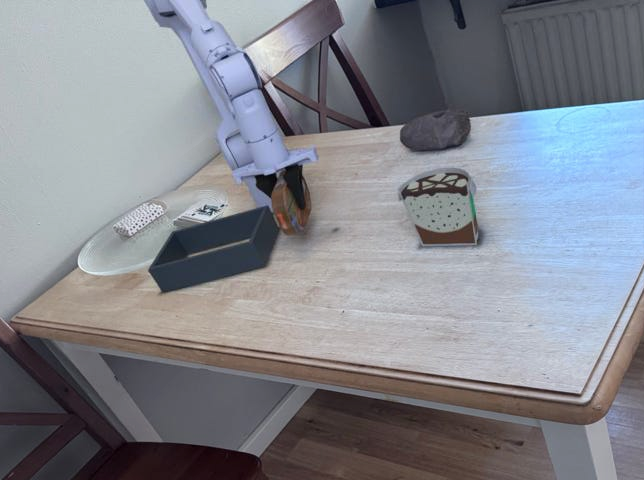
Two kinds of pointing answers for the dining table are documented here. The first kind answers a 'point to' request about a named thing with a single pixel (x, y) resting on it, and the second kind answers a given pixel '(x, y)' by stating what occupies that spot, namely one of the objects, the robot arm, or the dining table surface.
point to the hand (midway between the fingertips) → (295, 209)
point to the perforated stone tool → (436, 130)
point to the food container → (442, 207)
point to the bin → (182, 272)
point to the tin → (290, 207)
